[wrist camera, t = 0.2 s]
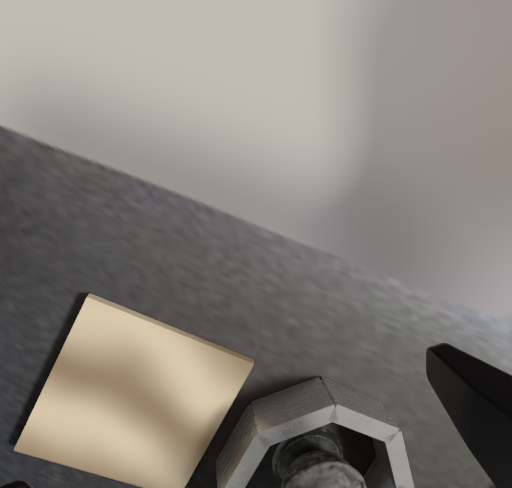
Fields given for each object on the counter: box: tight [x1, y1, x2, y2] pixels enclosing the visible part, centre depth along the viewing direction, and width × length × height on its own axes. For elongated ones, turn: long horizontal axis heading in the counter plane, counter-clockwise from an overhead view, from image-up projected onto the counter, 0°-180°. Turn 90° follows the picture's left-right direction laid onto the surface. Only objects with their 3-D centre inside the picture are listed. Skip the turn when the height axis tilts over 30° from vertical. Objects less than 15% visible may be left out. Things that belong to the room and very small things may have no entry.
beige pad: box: [13, 293, 254, 488], centre depth 24 cm, size 11×11×1 cm
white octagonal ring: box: [216, 377, 414, 488], centre depth 26 cm, size 12×12×3 cm
